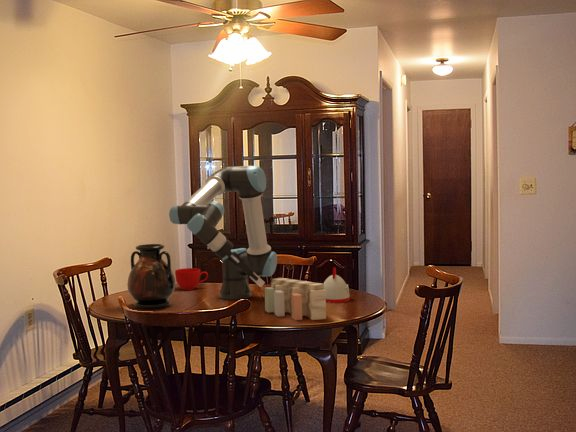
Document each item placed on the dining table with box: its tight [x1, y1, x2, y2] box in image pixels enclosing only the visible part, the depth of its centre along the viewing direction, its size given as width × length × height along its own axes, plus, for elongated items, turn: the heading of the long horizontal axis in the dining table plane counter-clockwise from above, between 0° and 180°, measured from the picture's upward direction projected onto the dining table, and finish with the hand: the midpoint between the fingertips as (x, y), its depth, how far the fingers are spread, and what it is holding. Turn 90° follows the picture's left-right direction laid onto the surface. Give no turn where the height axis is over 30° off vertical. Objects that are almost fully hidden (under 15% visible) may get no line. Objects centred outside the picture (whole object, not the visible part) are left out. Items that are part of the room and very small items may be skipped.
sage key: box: [264, 286, 275, 314], centre depth 294 cm, size 5×3×10 cm, turn 15°
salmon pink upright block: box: [291, 293, 303, 321], centre depth 278 cm, size 5×3×10 cm, turn 15°
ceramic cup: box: [174, 267, 209, 291], centre depth 354 cm, size 13×17×10 cm
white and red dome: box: [323, 267, 351, 304], centre depth 316 cm, size 14×14×15 cm
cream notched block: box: [270, 277, 327, 321], centre depth 288 cm, size 31×10×14 cm, turn 44°
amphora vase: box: [127, 243, 176, 310], centre depth 312 cm, size 22×22×28 cm
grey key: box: [274, 290, 286, 317], centre depth 286 cm, size 5×3×10 cm, turn 15°
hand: (262, 284), depth 276 cm, fingers closed
